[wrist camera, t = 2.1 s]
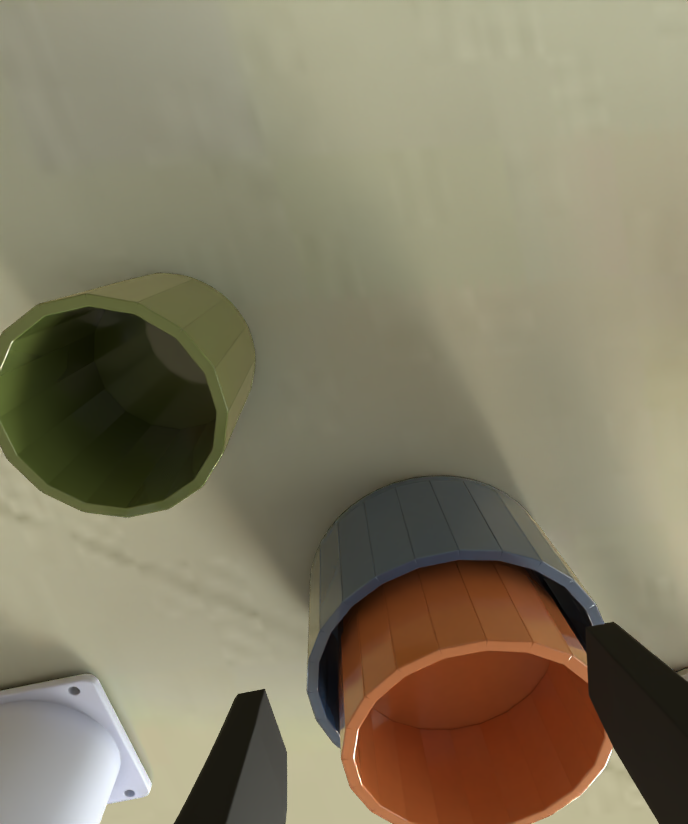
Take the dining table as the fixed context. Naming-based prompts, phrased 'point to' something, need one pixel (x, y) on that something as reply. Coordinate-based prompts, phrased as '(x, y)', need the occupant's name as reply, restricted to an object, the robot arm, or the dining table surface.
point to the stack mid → (465, 699)
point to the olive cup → (124, 392)
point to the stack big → (422, 562)
